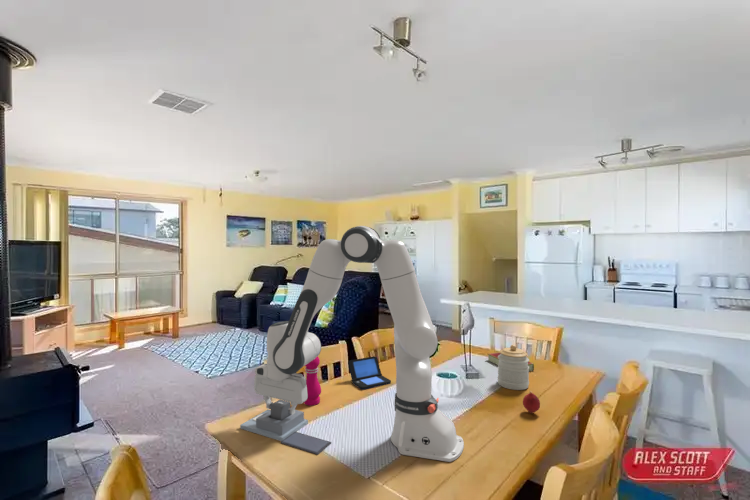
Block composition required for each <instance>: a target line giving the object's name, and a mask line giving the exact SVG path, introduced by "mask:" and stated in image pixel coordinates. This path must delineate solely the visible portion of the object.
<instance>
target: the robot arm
mask: <svg viewBox="0 0 750 500" xmlns="http://www.w3.org/2000/svg"><path fill="white" fill-rule="evenodd" d="M351 262H353V263H360V264H361V263H363V264H365V263H366V264H374V265H375V266H376V269H377V271H378V274H379V278H380V282H381V286H382V289H383V293H384V296H385V301H386V302H387V306H388V309H389V312H390V315H391V318H392V322H393V338H394V342H393V343H394V357H395V368H396V370H395V371H396V378H395V379H396V381H395V382H396V387H395V389H396V390H395V391H396V392H395V393H394V412H395V414H394V415H395V416H394V423H393V427H392V432H391V435H390V441H391V443H392V444H393V446H395V447H396V448H397V449H398V450H397V451H398V453H400V455H403V456H409V457H417V458H422V459H429V460H435V461H442V462H449V463H451V462H454V461H455V460H457V459H458V458H459V457H460V456H461V455H462V454H463V451H464V448H465V444H464V439H463V437H462V436H461V435H458V434H457V430H456V429H457V428H456V427H455V423H454V422H453V421H452V420H451V419H450V418H449V417H448V416H447V415H445V414H444V412H442V411H441V410H440V409H439V408H438V407H439V405H438V403H439V399H440V398H439V397H437V398H435V396H433V394H432V387H433V386H432V385H433V384H432V376H433V374H432V372H433V371H432V365H431V361H430V357H431V356H432V355H433V354H434V353H435V352H436V350H437V348H438V337H437V333H436V331H435V330H436V329H435V327H434V324H433V322H432V317H431V315H430V313H429V311H428V308H427V305H426V302H425V300H424V298H423V294H422V291H421V287H420V285H419V280H418V278H417V277H418V276H417V273H416V271H415V266H414V263H413V260H412V257H411V255H410V252H409V251H408V248H407V247H406V244H405V243H404V242H403V241H401V240H398V239H389V240H387V239H386V240H382V239H381V237H380V235H379V233H378V232H377V230H375V229H374V228H372V227H370V226H366V225H356V226H353V227H351V228H349V229H347V230H346V231H345V232H344V234H343V235H342V237H341V240H339V239H335V238H328V239H327V238H326V239H324V240H322V241H321V242H320V243H319V244H318V246H317V248H316V250H315V252H314V255H313V258H312V260H311V262H310V265H309V268H308V272H307V275H306V278H305V281H304V284H303V287H302V289H301V292H300V294H299V296H298V298H297V301H296V302H295V305H294V307H293V309H292V313H291V315H290V318H289V320H282V321H279V322H276V323H273V324H272V323H271V325H270V326H269V327H268V329H267V336H266V351H267V359H266V363H264V364H262V365H259V366H258V367H257V366H256V367H255V368H254V373H255V375H254V380H253V381H254V382H253V386H254V387H253V389H254V391H255V394H257V395H260V396H263V401H264V402H265V409H266V410H271V404H273V403H274V402H273V401H272V400H271V398H273V399H277V400H284V401H288V402H290V408H289V409H288V414H290V415H293V414H295V410H296V408H297V406H298V405H301V404H304V402H305V401H306V400H307V398H308V394H307V385H306V378H307V377H305V376H304V375H303V374H302V373H298V372H299V371H300V370H301V369H302V368H303V367H306V366H305V365H306V364H308V363H309V362H311V361H312V360H314V359H315V358H316V357H317V356H318V357H319V356H320V354H321V351H322V343H321V340H320V337H318V336H317V334H316V333H313V332H309V328H310V326H311V324H312V321H313V319H314V317H315V315H316V314H317V313H318V312H319V310H320V309H322V308H323V307H324V306H325V305H326V304H328V303H329V302H331V301H332V300H334V298H335V297H336V295H337V294H338V292H339V290H340V288H341V286H342V282H343V279H344V275H345V272H346V269H347V266H348V265H349V263H351Z"/></svg>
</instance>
